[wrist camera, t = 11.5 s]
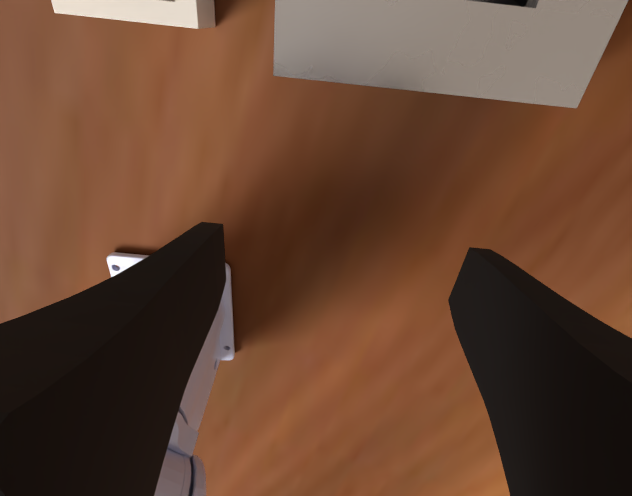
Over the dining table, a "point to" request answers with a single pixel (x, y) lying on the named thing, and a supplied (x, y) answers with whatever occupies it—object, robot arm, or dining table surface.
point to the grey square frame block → (449, 45)
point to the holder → (144, 11)
